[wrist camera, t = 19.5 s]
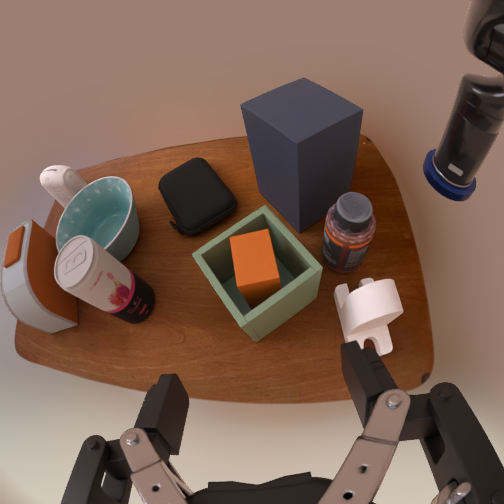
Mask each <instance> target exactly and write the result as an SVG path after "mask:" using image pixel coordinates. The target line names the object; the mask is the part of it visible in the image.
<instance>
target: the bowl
mask: <svg viewBox="0 0 504 504" xmlns="http://www.w3.org/2000/svg"><path fill="white" fill-rule="evenodd" d="M139 229H140V226H139V220H138V215H137V210H136V206H135V201H134V197H133V193H132V190H131V187H130V185H129V184H128V183H127V182H126V181H125V180H124V179H122V178H119V177H114V176H109V177H103V178H100V179H98V180H95V181H93V182H92V183H90V184H88V185H87V186H85V187H84V188H83V189H82V190H80V191H79V192H78V193H77V194H76V195H75V196H74V197H73V199H72V200H71V201H70V202H69V204H68V205H67V207H66V208H65V210H64V212H63V214H62V216H61V218H60V221H59V223H58V227H57V232H56V246H57V250H58V252H60V250H61V249H62V247H63V246H64V245H65V244H66V243H67V242H68V241H69V240H70V239H72V238H73V237H75V236H79V235H84V236H87V237H89V238H91V239H93V240H94V241H95V242H96V243H97V244H99V245H100V246H101V247H102V248H103V249H105V250H106V251H107V252H108V253H109V254H111V255H112V256H113V257H114V258H115V259H117V260H118V261H119V262H121V261H122V260H123V259H124V258H125V257H126V256H127V255H128V254H129V253H130V252H131V250H132V249H133V247H134V246H135V244H136V241H137V239H138V235H139Z"/></svg>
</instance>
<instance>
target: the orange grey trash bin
mask: <svg viewBox="0 0 504 504" xmlns="http://www.w3.org/2000/svg"><path fill="white" fill-rule="evenodd" d="M58 254H59V252H58V250H57V246H56V239H55V238H54V237H53V236H51V235H50V234H49V233H48V232H46V231H45V230H44V229H43V228H42V227H40V226H39V225H38V224H37V223H36V222H34V221H33V220H32V219H28V220H26V221H25V222H24V223H22V224H21V225H19V226H18V227H17V228H15V229H14V230H13V231H12V232H11V233H10V235H9V237H8V239H7V241H6V246H5V251H4V256H3V263H2V270H1V282H0V285H1V291H2V295H3V298H4V301H5V303H6V305H7V307H8V308H9V310H10V312H11V313H12V314H13V315H14V316H15V317H16V318H17V319H18V320H19V321H21V322H22V323H24V324H26V325H28V326H31V327H33V328H36V329H38V330H41V331H44V332H46V333H49V334H52V333H55V332H58V331H61V330H64V329H67V328H70V327H73V326H76V325H78V310H77V297H76V296H74V295H72V294H71V293H69V292H67V291H65V290H64V289H62V288H61V286H60V285H59V284H58V283H57V282H56V279H55V276H54V266H55V261H56V258H57V256H58Z"/></svg>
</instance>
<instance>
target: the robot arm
mask: <svg viewBox="0 0 504 504" xmlns="http://www.w3.org/2000/svg"><path fill="white" fill-rule="evenodd" d="M463 43H464V46H465V48H466V50H467V51H468V52H469V53H470V54H471V55H472V56H473V57H475V58H476V59H478V60H480V61H481V62H483V63H485V64H487V65H488V66H490V67H492V68H494V69H495V70H497V71H498V72H500V74H499V75H497V76H483V75H478V74H472V73H467V74H464V75H463V76H462V78H461V80H460V84H459V87H458V91H457V94H456V97H455V100H454V103H453V107H452V109H451V113H450V115H449V118H448V121H447V123H446V126H445V129H444V132H443V134H442V137H441V139H440V142H439V144H438V147H437V149H436V151H435V153H434V155H433V157H432V167H433V169H434V171H435V173H436V174H437V175H438V176H439V178H440V179H441V180H443V181H444V182H445V183H446V184H448V185H450V186H451V187H454V188H457V189H466V188H468V187H469V186H470V185H471V183H472V181H473V179H474V177H475V176H476V174H477V172H478V171H479V169H480V167H481V165H482V164H483V162H484V160H485V158H486V157H487V155H488V153H489V151H490V149H491V147H492V145H493V143H494V141H495V140H496V137H497V135H498V134H499V131H500V129H501V127H502V125H503V123H504V0H470V4H469V7H468V10H467V13H466V17H465V20H464V25H463ZM341 359H342V371H343V376H344V379H345V381H346V384H347V386H348V389H349V392H350V394H351V397H352V399H353V401H354V404H355V407H356V409H357V412H358V415H359V417H360V420H361V423H362V425H363V428H364V431H363V433H362V435H361V436H359V437H358V438H357V439H356V441H355V442H354V444H353V446H352V448H351V450H350V452H349V454H348V456H347V457H346V459H345V461H344V463H343V464H342V466H341V468H340V469H339V471H338V473H337V474H336V476H335V478H334V479H333V480H331V479H327V478H321V477H311V473H310V472H306V473H300V474H295V475H289V476H284V477H281V478H278V479H275V480H272V481H269V482H266V483H263V484H259V485H255V484H247V483H240V482H233V481H227V482H208V488H205V489H202V490H200V491H197V492H195V493H193V492H192V491H191V490H190V489H189V487H188V486H187V485H186V483H185V482H184V481H183V479H182V478H181V476H180V475H179V474H178V472H177V471H176V470H175V468H174V466H173V465H172V463H171V462H170V461H169V457H170V455H179V449H180V445H181V440H182V435H183V431H184V426H185V421H186V417H187V412H188V408H189V397H188V394H187V392H186V390H185V388H184V387H183V385H182V383H181V381H180V379H179V377H178V375H177V374H163V375H161V376H160V378H159V380H158V383H157V385H153V386H152V387H151V388H150V389H149V391H148V392H147V394H146V397H145V401H144V402H143V405H142V407H141V410H140V413H139V415H138V418H137V420H136V423H135V426H134V428H131V429H129V430H127V431H125V432H124V433H123V434H122V436H121V437H120V439H117V440H112V441H106V440H105V439H104V438H103V437H101V436H99V435H93V436H90V437H89V438H87V439H86V440H85V441H84V443H83V445H82V447H81V450H80V452H79V455H78V457H77V460H76V463H75V465H74V468H73V470H72V474H71V476H70V479H69V481H68V484H67V487H66V490H65V493H64V496H63V499H62V502H61V504H128V502H129V497H130V492H131V488H132V483H134V485H135V487H136V489H137V491H138V493H139V495H140V497H141V499H142V501H143V503H144V504H375V503H374V502H372V501H373V499H374V497H375V495H376V493H377V491H378V489H379V487H380V485H381V483H382V481H383V479H384V476H385V474H386V472H387V470H388V467H389V465H390V463H391V460H392V458H393V456H394V453H395V450H396V448H397V445H398V443H399V441H405V440H414V439H419V440H420V443H421V445H422V447H423V450H424V452H425V455H426V457H427V460H428V463H429V465H430V468H431V471H432V473H433V476H434V478H435V481H436V484H437V487H438V490H439V494H438V495H437V496H436V497H435V498H434V499H433V501H432V502H431V504H504V467H503V465H502V463H501V461H500V460H499V458H498V455H497V453H496V452H495V450H494V448H493V446H492V444H491V442H490V440H489V439H488V437H487V435H486V433H485V431H484V430H483V428H482V426H481V425H480V423H479V421H478V419H477V418H476V416H475V415H474V413H473V411H472V409H471V408H470V406H469V405H468V403H467V401H466V400H465V398H464V397H463V395H462V394H461V392H460V391H459V389H458V388H457V387H456V386H455V385H454V384H452V383H447V382H443V383H439V384H437V385H435V386H434V387H433V388H432V389H431V391H430V393H427V394H419V395H409V394H407V393H406V392H405V391H403V390H400V389H398V387H397V385H396V384H395V382H394V380H393V379H392V377H391V375H390V373H389V372H388V370H387V368H386V367H385V365H384V363H383V362H382V361H381V358H380V357H379V355H378V353H377V352H376V351H374V350H373V349H371V348H370V347H367V348H364V349H361V347H360V345H359V343H358V342H357V340H354V341H350V342H347V343H343V344H341ZM104 472H106V475H105V479H104V482H103V486H102V487H101V482H102V479H103V476H104Z"/></svg>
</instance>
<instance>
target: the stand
mask: <svg viewBox="0 0 504 504" xmlns="http://www.w3.org/2000/svg"><path fill="white" fill-rule="evenodd" d="M241 110H242V114H243V118H244V123H245V128H246V132H247V137H248V141H249V146H250V150H251V155H252V160H253V164H254V169H255V173H256V178H257V183H258V188H259V192H260V193H261V194H262V195H263V196H264V197H265V198H266V199H267V200H268V201H269V202H270V203H271V204H272V206H273V207H274V208H275V209H276V210H277V211H278V212H279V213H280V214H281V215H282V216H283V217H284V218H285V219H286V220H287V221H288V222H289V223H290V224H291V225H292V226H293V227H294V228H295V229H296V231H297V232H298V233H299V234H300V233H301V232H303V231H304V230H305V229H307V228H308V227H310V226H311V225H312V224H314V223H315V222H317V221H318V220H319V219H321V218H322V217H324V216H325V215H326V214H327V213H328V211H329V209H330V208H331V207H332V206H333V205H334V204H336V203H337V200H338V199H339V197H340V196H342V195H343V194H345V193H348V192H350V187H351V181H352V176H353V171H354V166H355V160H356V154H357V148H358V142H359V136H360V129H361V122H362V115H363V109H361V108H360V107H358V106H356V105H355V104H353V103H351V102H349V101H348V100H346V99H344V98H342V97H341V96H338V95H337V94H335V93H333V92H332V91H330V90H328V89H326V88H324V87H322V86H320V85H318V84H316V83H314V82H312V81H310V80H308V79H306V78H301V79H299V80H296V81H294V82H291V83H288V84H286V85H283V86H281V87H278V88H276V89H274V90H271V91H269V92H267V93H264V94H262V95H260V96H258V97H255V98H253V99H251V100H249V101H247V102H245V103H242V104H241Z"/></svg>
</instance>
